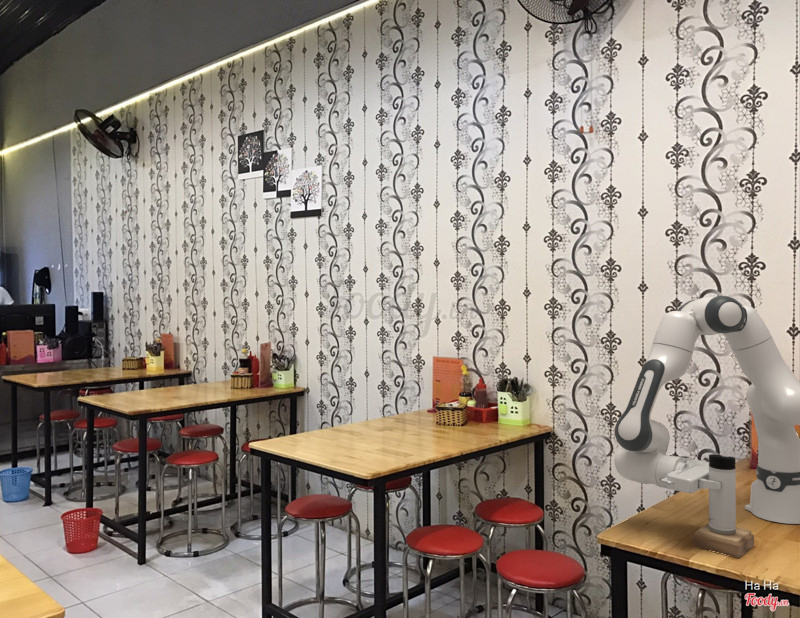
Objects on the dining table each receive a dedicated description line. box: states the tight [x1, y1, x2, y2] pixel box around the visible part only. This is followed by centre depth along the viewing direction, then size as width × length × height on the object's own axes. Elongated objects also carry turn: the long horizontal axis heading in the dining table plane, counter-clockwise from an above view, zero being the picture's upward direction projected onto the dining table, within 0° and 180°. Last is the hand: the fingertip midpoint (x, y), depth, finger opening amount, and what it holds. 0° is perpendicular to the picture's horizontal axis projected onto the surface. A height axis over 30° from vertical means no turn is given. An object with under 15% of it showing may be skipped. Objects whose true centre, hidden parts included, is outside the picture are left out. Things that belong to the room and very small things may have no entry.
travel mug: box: [708, 454, 737, 535], centre depth 168 cm, size 6×7×20 cm
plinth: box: [692, 522, 755, 560], centre depth 168 cm, size 11×11×4 cm
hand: (726, 482), depth 167 cm, fingers closed on travel mug, 6 cm apart
